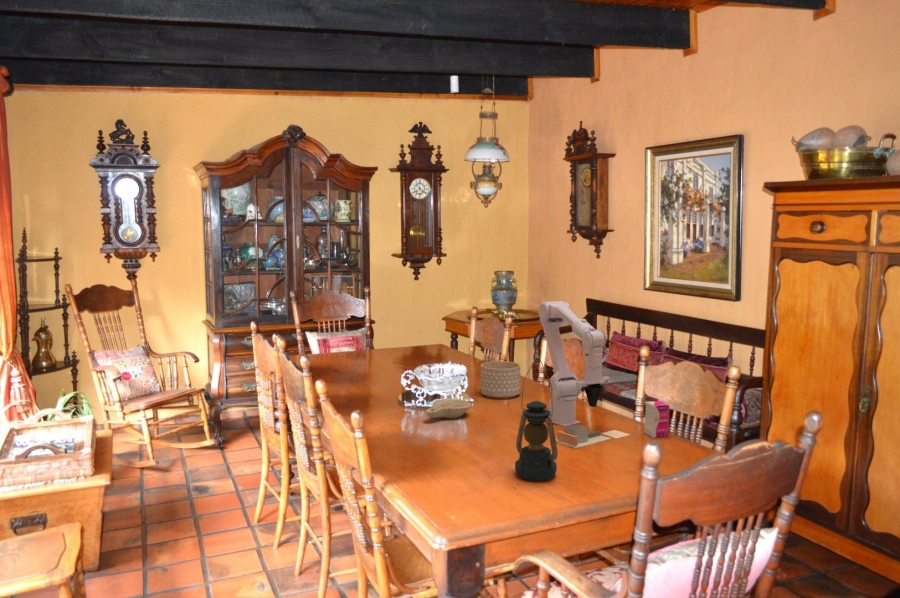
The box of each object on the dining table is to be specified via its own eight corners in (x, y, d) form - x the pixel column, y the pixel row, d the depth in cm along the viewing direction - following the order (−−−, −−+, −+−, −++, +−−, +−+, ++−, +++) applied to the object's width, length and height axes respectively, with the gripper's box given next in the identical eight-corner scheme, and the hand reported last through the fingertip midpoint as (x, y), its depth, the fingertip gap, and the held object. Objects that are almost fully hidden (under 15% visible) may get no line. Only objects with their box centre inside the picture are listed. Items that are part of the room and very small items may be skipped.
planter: (476, 398, 299) (476, 367, 298) (486, 389, 315) (486, 360, 314) (515, 401, 295) (515, 370, 293) (523, 391, 310) (523, 362, 309)
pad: (600, 434, 249) (600, 433, 249) (614, 430, 253) (614, 429, 253) (616, 439, 243) (616, 438, 243) (630, 435, 247) (630, 434, 247)
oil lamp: (444, 427, 258) (444, 413, 258) (413, 420, 267) (413, 407, 266) (478, 414, 275) (478, 401, 274) (448, 408, 283) (448, 396, 283)
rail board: (554, 441, 241) (554, 430, 241) (588, 433, 250) (589, 422, 250) (576, 449, 233) (576, 438, 232) (611, 440, 242) (611, 429, 242)
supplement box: (653, 439, 243) (654, 405, 241) (644, 434, 248) (644, 401, 247) (668, 438, 244) (669, 404, 243) (659, 433, 250) (660, 400, 249)
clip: (563, 440, 240) (564, 427, 239) (576, 437, 243) (577, 424, 243) (574, 444, 236) (575, 431, 235) (587, 441, 239) (588, 427, 239)
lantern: (503, 474, 210) (504, 354, 207) (529, 464, 219) (530, 348, 215) (542, 487, 200) (543, 360, 196) (568, 476, 209) (570, 355, 205)
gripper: (586, 371, 238) (586, 411, 240) (617, 365, 247) (616, 405, 248) (571, 367, 244) (570, 407, 245) (601, 362, 252) (600, 401, 254)
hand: (592, 406), depth 247 cm, fingers closed
